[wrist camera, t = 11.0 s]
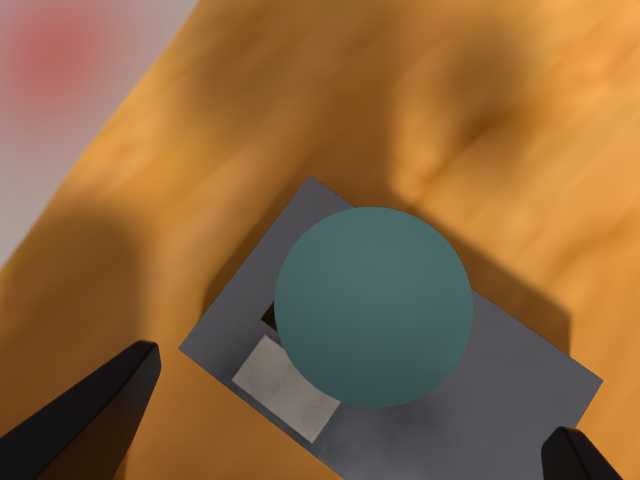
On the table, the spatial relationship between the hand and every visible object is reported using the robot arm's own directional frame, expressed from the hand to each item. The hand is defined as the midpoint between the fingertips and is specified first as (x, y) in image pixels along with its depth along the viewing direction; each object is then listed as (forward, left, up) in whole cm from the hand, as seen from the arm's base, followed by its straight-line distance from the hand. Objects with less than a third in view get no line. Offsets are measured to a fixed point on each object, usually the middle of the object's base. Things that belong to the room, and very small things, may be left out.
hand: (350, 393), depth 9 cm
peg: (+2, +1, -12) cm, 12 cm away
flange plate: (+1, -2, -12) cm, 12 cm away
